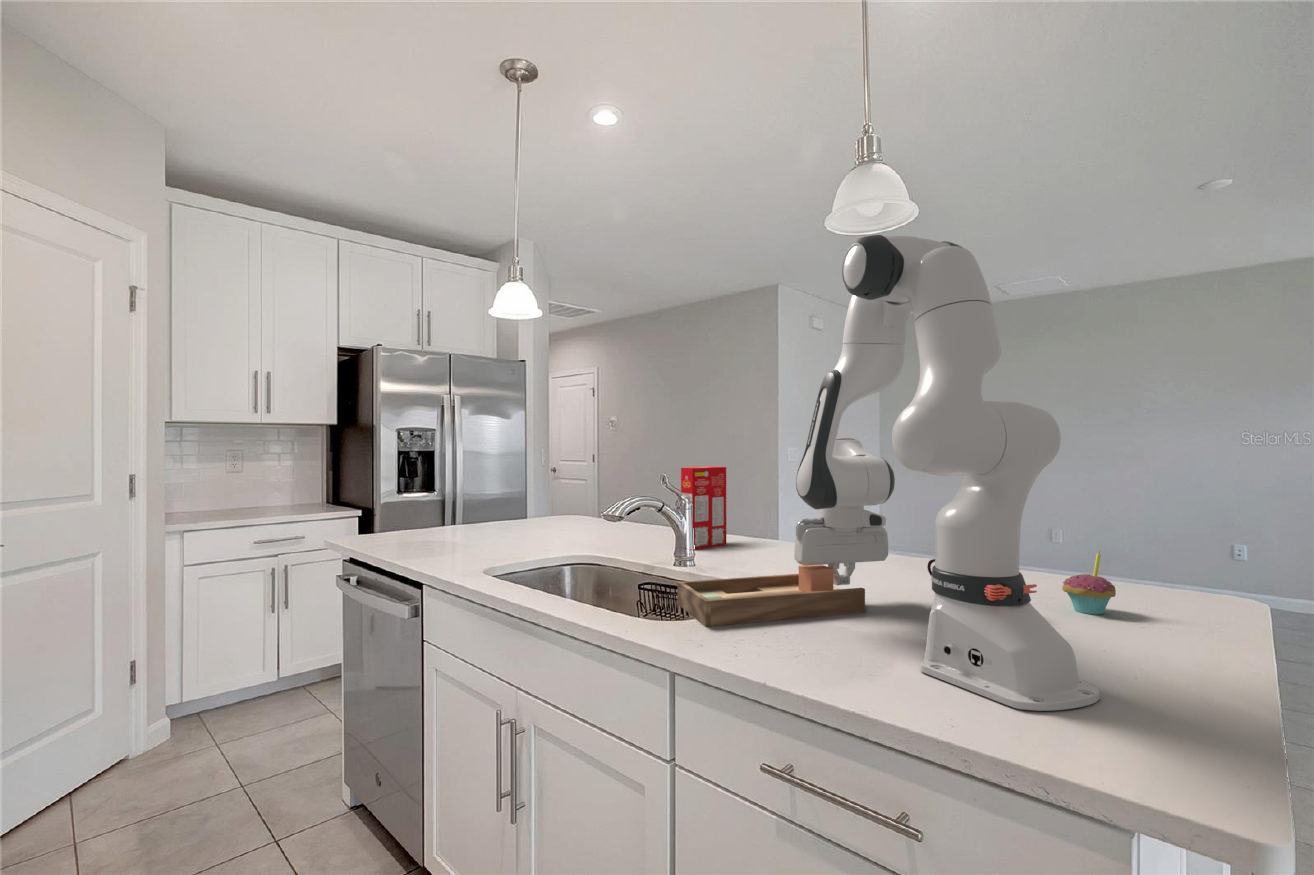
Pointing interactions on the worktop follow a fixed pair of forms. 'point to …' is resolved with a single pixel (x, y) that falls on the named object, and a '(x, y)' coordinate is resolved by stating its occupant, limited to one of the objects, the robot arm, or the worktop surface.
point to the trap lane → (763, 600)
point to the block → (815, 578)
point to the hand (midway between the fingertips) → (841, 584)
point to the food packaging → (706, 504)
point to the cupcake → (1089, 591)
